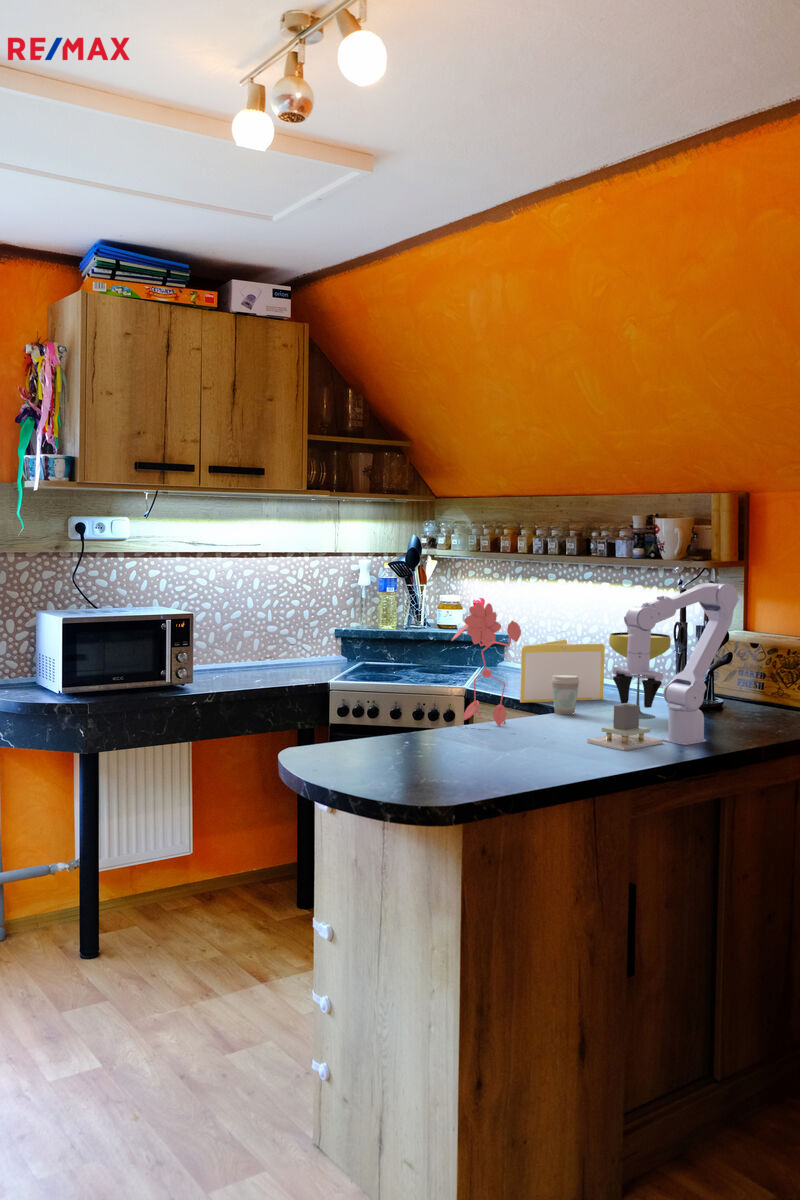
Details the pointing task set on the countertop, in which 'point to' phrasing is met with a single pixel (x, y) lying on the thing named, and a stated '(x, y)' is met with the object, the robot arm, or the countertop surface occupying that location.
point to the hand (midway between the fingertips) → (635, 705)
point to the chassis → (624, 741)
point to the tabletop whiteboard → (561, 669)
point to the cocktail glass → (657, 647)
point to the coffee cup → (565, 693)
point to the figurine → (484, 629)
